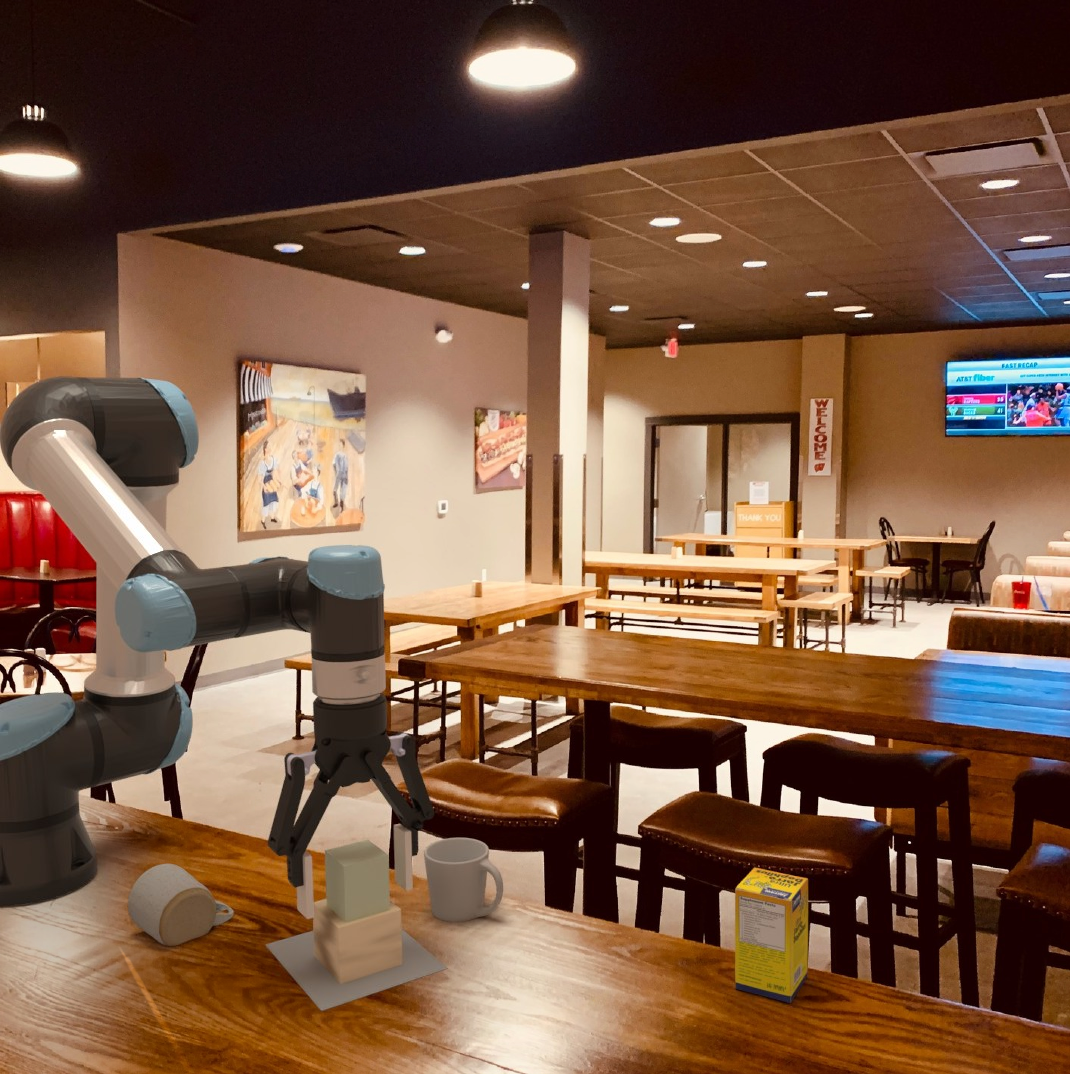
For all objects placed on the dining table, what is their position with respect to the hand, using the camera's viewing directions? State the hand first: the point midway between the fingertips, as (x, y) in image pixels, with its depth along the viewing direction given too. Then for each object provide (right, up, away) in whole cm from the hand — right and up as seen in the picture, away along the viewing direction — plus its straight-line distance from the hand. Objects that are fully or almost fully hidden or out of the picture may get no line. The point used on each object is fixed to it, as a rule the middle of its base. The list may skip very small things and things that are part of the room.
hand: (356, 899), depth 111 cm
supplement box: (+43, -8, -3) cm, 44 cm away
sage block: (0, -1, 0) cm, 1 cm away
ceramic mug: (-21, -8, +10) cm, 25 cm away
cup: (+11, -7, +12) cm, 17 cm away
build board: (0, -8, +2) cm, 8 cm away
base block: (0, -7, +1) cm, 7 cm away
